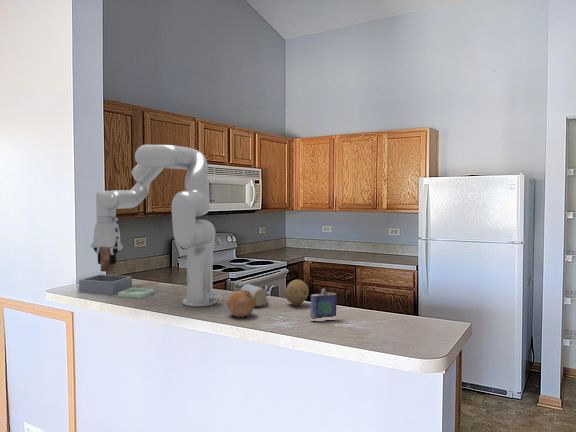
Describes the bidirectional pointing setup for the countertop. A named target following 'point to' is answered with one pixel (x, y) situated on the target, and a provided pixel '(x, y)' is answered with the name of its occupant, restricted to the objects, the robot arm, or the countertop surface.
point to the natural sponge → (296, 292)
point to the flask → (323, 305)
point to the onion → (240, 303)
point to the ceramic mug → (256, 294)
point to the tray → (136, 293)
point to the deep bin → (105, 284)
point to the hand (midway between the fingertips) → (107, 263)
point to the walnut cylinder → (105, 259)
